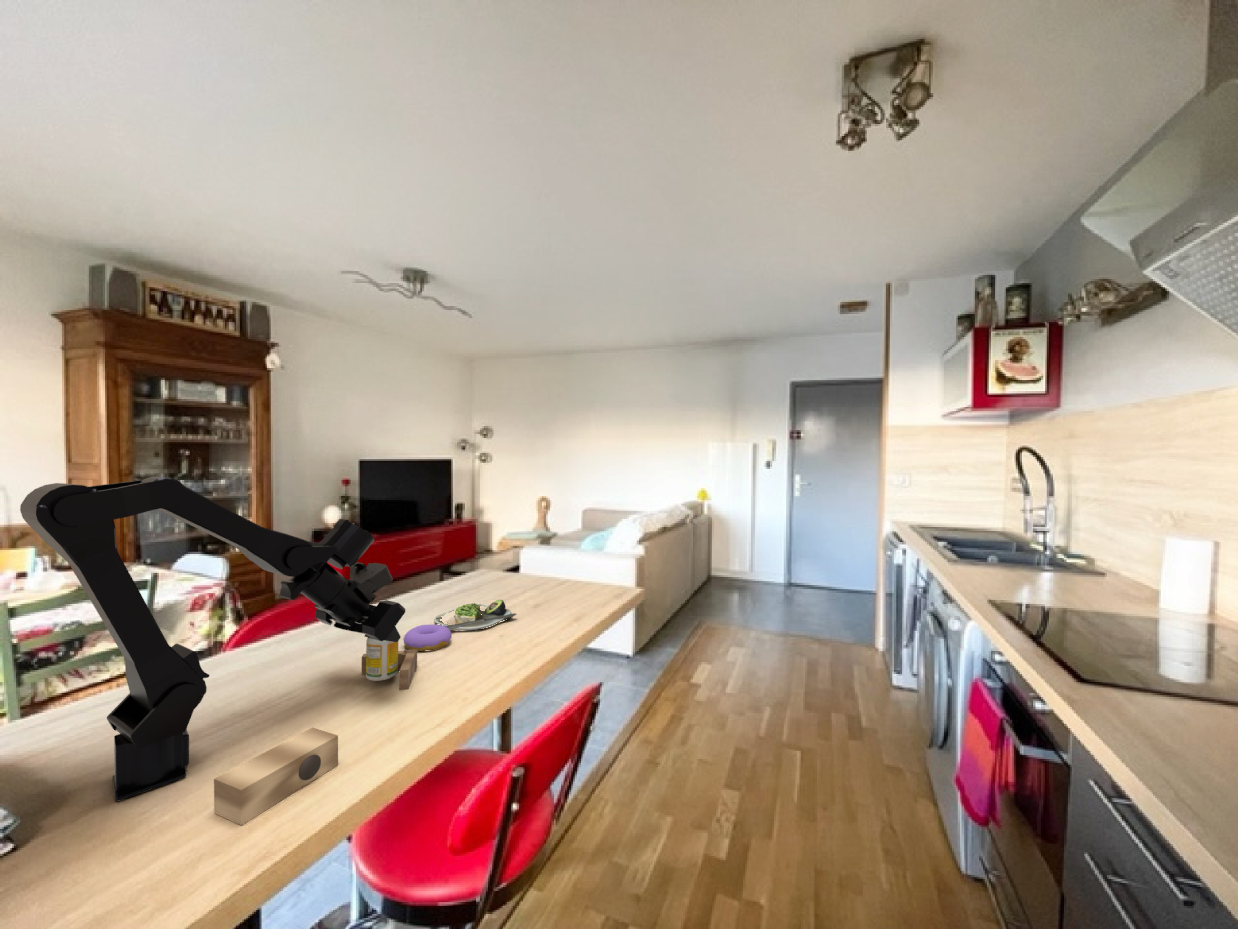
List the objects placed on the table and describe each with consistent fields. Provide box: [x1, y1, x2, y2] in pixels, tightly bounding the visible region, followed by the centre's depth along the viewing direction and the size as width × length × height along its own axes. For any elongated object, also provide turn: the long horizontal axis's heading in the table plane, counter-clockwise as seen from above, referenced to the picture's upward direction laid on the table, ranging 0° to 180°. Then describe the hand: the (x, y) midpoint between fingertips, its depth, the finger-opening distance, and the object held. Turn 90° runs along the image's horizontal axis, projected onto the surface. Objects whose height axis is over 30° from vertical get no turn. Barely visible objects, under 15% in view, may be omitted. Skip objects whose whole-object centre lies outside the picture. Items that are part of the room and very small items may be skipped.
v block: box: [361, 649, 418, 691], centre depth 95 cm, size 8×13×4 cm, turn 59°
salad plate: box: [433, 599, 517, 631], centre depth 125 cm, size 19×18×5 cm
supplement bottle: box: [365, 637, 399, 682], centre depth 92 cm, size 5×5×10 cm
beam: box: [213, 727, 339, 826], centre depth 62 cm, size 12×5×4 cm, turn 157°
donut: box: [402, 624, 452, 652], centre depth 110 cm, size 10×9×5 cm
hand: (389, 636), depth 93 cm, fingers closed on supplement bottle, 5 cm apart
